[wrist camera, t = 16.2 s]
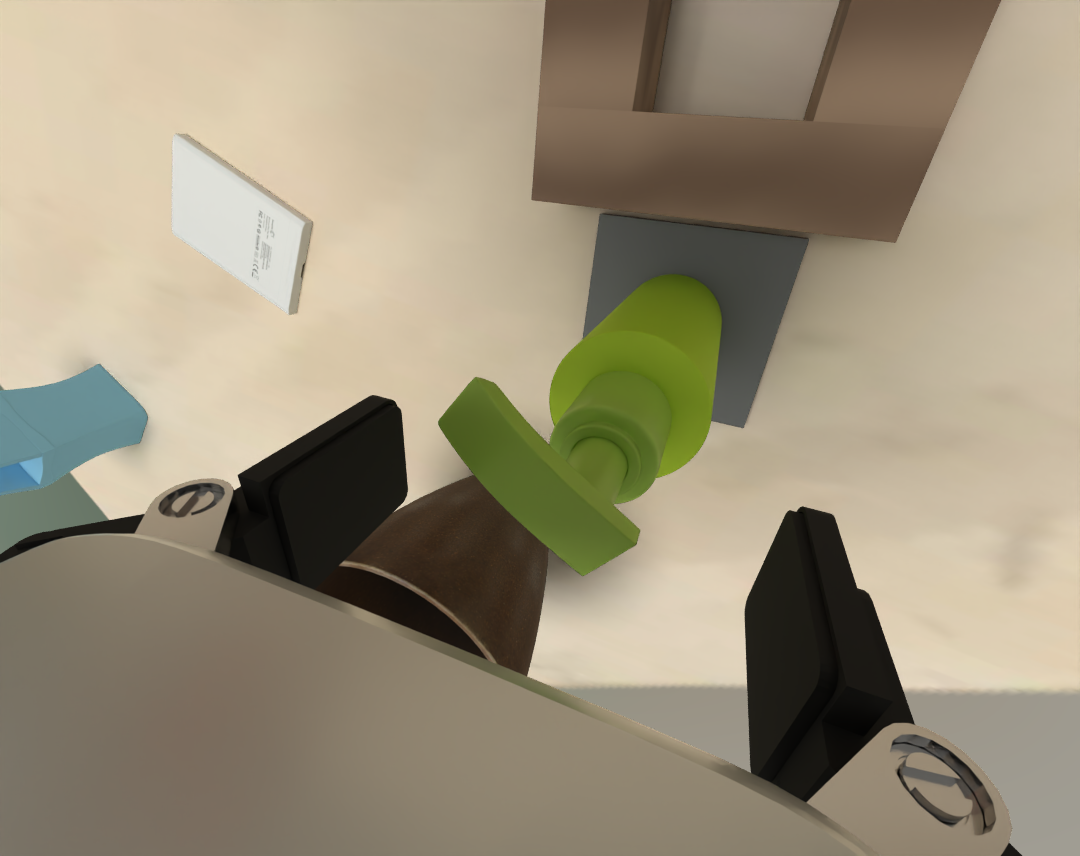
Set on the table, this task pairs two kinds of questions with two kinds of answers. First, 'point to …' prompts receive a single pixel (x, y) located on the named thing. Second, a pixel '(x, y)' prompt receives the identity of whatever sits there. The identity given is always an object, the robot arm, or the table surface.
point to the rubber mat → (725, 269)
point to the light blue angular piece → (63, 427)
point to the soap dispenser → (600, 422)
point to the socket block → (753, 120)
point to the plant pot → (452, 574)
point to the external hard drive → (238, 224)
